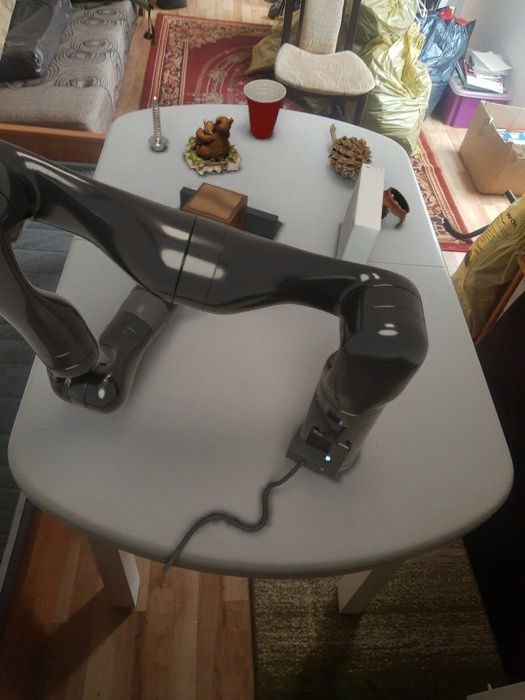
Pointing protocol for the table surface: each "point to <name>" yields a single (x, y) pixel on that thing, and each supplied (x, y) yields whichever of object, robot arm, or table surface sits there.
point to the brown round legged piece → (394, 204)
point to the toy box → (219, 205)
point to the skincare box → (362, 216)
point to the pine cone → (348, 154)
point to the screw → (157, 129)
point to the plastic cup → (263, 106)
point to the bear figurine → (213, 147)
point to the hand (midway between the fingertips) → (193, 246)
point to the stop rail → (255, 218)
